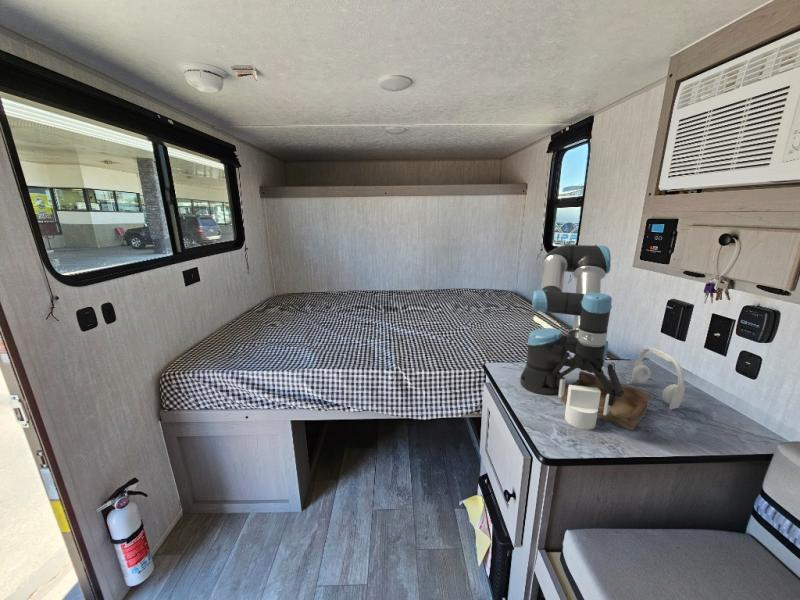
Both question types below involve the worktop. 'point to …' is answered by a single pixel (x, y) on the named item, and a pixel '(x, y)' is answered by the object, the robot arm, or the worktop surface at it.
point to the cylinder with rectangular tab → (582, 406)
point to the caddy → (616, 402)
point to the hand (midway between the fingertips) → (582, 404)
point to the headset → (671, 392)
